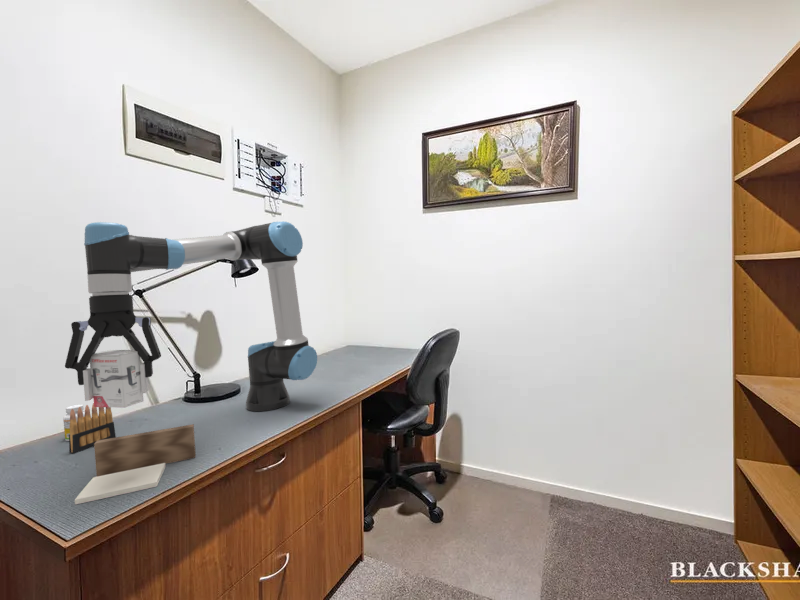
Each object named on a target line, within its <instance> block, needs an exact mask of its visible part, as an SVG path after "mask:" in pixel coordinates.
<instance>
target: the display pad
mask: <svg viewBox="0 0 800 600" xmlns="http://www.w3.org/2000/svg"><path fill="white" fill-rule="evenodd" d="M165 470H166V464H165V463H162V464H157V465H152V466H147V467H142V468H137V469H132V470H127V471H122V472H117V473H112V474H107V475H103V476H98V477H97V476H93V477H91V478H92V479H91V480H89V482H88V483H87V484H86V486H84V488H83V489H82V490H81V491H80V492H79V494H78V495H77V496H76V498H74V505H75V506H76V505H80V504H83V503H88V502H93V501H98V500H101V499H107V498H111V497H115V496H119V495H124V494H129V493H134V492H138V491H142V490H147V489H151V488H155V487H158V484H159V483H160V481H161V478H162V476H163V474H164V471H165Z"/></svg>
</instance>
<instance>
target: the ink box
mask: <svg viewBox="0 0 800 600" xmlns="http://www.w3.org/2000/svg"><path fill="white" fill-rule="evenodd" d="M140 364H141V358H140V356H139V355H138V352H137V351H135V350H134V349H109V350H103V351H98V352H95V354H93V355H92V356H91V359H90V363H89V365H90V367H89V368H90V369H91V379H92V390H93V398H92V400H93V403H94V407H97V408H99V407H104V408H106V407H111V408H116V409H117V408H121V409H123V408H129V407H131V406H134V405H137V404H140V403H144V401H145V400H144V393H142V389H141V374H140Z"/></svg>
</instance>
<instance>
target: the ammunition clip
mask: <svg viewBox="0 0 800 600" xmlns="http://www.w3.org/2000/svg"><path fill="white" fill-rule="evenodd" d="M97 408H98V409H97ZM84 411H85V420H84V417H83V412H82V409H81V407H79V408H78V413H77V416H78V418H77V422H76V416H75V412H74V410H73V409H71V412H70V425H69V427H70V434H69V441H68V447H69V454H73V455H75V454H77V453H79V452H83V451H86V450H87V449H90V448H94V443H95V442H96V441H98V440H104V439H110V438H116V437H117V436H116V430H115V422H114V421H113V412H112V407H94V402H93V403H92V407H91V409H90V407H89V405H88V404H86V405H85V407H84Z"/></svg>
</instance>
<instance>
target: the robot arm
mask: <svg viewBox="0 0 800 600" xmlns="http://www.w3.org/2000/svg"><path fill="white" fill-rule="evenodd" d="M303 244H304V243H303V238H302V235H301V232H300V231H299V229H298V228H297V227H295V225H294V224H292V222H288V221H273V222H269V223H264V224H258V225H254V226H253V225H252V226H249V227H246V228H242V229H238V230H231V231H226V232H224V233H223V234H221V235H213V236H210V235H209V236H199V237H198V236H197V237H188V238H187V237H185V238H174V239H169V238H167V237H165V238H163V237H161V238H160V237H150V236H149V237H148V236H137V235H133V234H130V232H129V228H128V226H127V225H124V224H122V223H121V224H120V223H117V222H106V221H105V222H104V221H103V222H101V221H100V222H99V221H97V222H91V223H88V224H87V225H85V228H84V244H83V245H84V250H85V259H86V260H85V261H86V269H87V271H86V272H87V276H86V277H87V287H88V288H87V289H88V293H89V294H91V295H92V296H89V297H88V304H89V314H90V315H89V318H88V320H83V321H81V320H78V321H77V320H76V321H73V322H71V324H70V325H71V329H72V335H71V339H70V342H69V347H68V351H67V356H66V360H65V365H64V367H65V369H67V370H68V369H69V370H70V369H71V370H75V371H76V374H77V375H76V376H77V384H78V385H79V386H83V391H84V392H83V393H84V401H85V402H88V401H90V400H93V390H92V379H91V369H90V367H89V365H90V359H91V356H92V355H93V354H95V353H97V352H96V351H97V350H98V348H99V347H100V345H101V343H102V342H103V340H104V339H105V338H109V337H123V338H124V339H125V340H127V342H128V343H129V344H130V346H131V347H132V348H133V350H135V351H137V352H138V355H139V356H140V360H142V363H140V374H141V389H142V393H143V394H147V393H148V392H149V378H152V377H153V374H154V373H153V372H154V370H153V362H154V361H156V360H159V359H160V358H161V357H162V353H161V350H160V348H159V345H158V343H157V340H156V338H155V335H154V334H155V333H154V332H153V330H152V327H151V325H152V319H151V317H150V316H145V317H137V316H136V315H135V313H134V299H133V296H132V295H131V294H130V293H131V292H133V287H132V286H133V285H132V273H135V272H142V271H143V272H145V271H151V270H167V271H168V270H178V269H180V268H181V267H182V266H183V265H190V264H196V263H204V262H212V261H217V260H218V261H219V260H224V259H228V260H230V261H238V260H239V261H240V260H241V261H242V260H259V261H261V265H262V266H263V267H264V268H266V270H267V275H268V276H267V277H268V283H269V289H270V296H271V297H270V298H271V303H272V311H273V318H274V325H275V331H276V340H273V341H266V342H262V343H257V344H252V345H250V346H249V347H248V348H247V361H248V362H247V363H248V376H249V389H248V394H247V395H246V396H247V397H246V401H245V408H246V410H247V411H251V412H267V411H272V410H276V409H279V408H284V407H285V406H288V405H289V404H290V403H291V401H290V394H289V392H288V389H287V387H286V384H285V382H284V381H285V380H291V381H303V380H306V379H308V378H309V377H311V375H312V374H313V373H314V371H315V369H316V368H317V364H318V354H317V351H316V349H314V347H312V346H311V345H309V339H308V337H306V336H305V335H304V334H303V327H302V320H301V319H302V318H301V312H300V306H299V305H300V303H299V296H298V288H297V281H296V273H295V268H294V267H295V265H296V264H297V262H298V255H299V254H301V252H302V249H303ZM136 323H137V324H138V326H139V327H141V329H142V332H143V335H144V338H145V341H146V344H147V346H148V348H149V351H150V353H151V354H150V353H149V352H148V350H147V349H146V348H145V346H144V345H143V343H142V342H141V341H140V339H139V338H138V337H137V336H136V334H135V332H134V330H132V328H133V327H134V325H135V324H136ZM88 326H89V327H91V329H93V330H94V333H93V335H92V337H91V340H90V341H89V343H88V345H87V348H86V349H85V350H84V352H83V354H82V356H81V358H80V360H79V357H80V354H81V353H80V352H81V349H82V345H83V341H84V336H85V332H86V331H87V330H88Z"/></svg>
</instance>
